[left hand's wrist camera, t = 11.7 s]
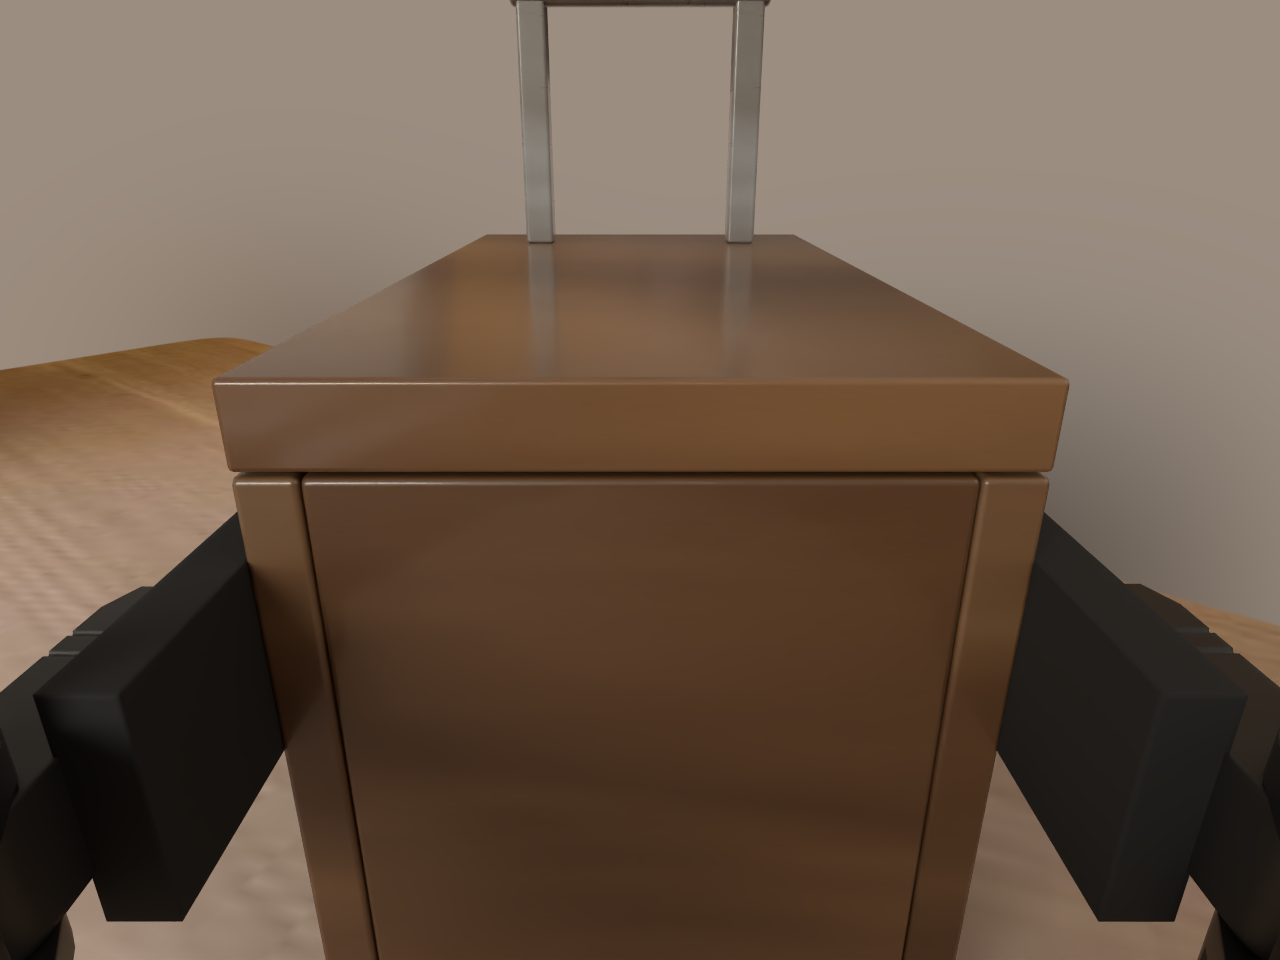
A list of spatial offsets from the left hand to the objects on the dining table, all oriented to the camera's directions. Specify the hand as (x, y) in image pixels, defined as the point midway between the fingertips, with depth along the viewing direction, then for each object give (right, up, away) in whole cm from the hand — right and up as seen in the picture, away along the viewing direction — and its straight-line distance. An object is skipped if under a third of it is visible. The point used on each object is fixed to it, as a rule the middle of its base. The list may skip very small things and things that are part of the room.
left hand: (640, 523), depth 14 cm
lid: (0, +4, +3) cm, 5 cm away
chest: (0, -5, +6) cm, 8 cm away
